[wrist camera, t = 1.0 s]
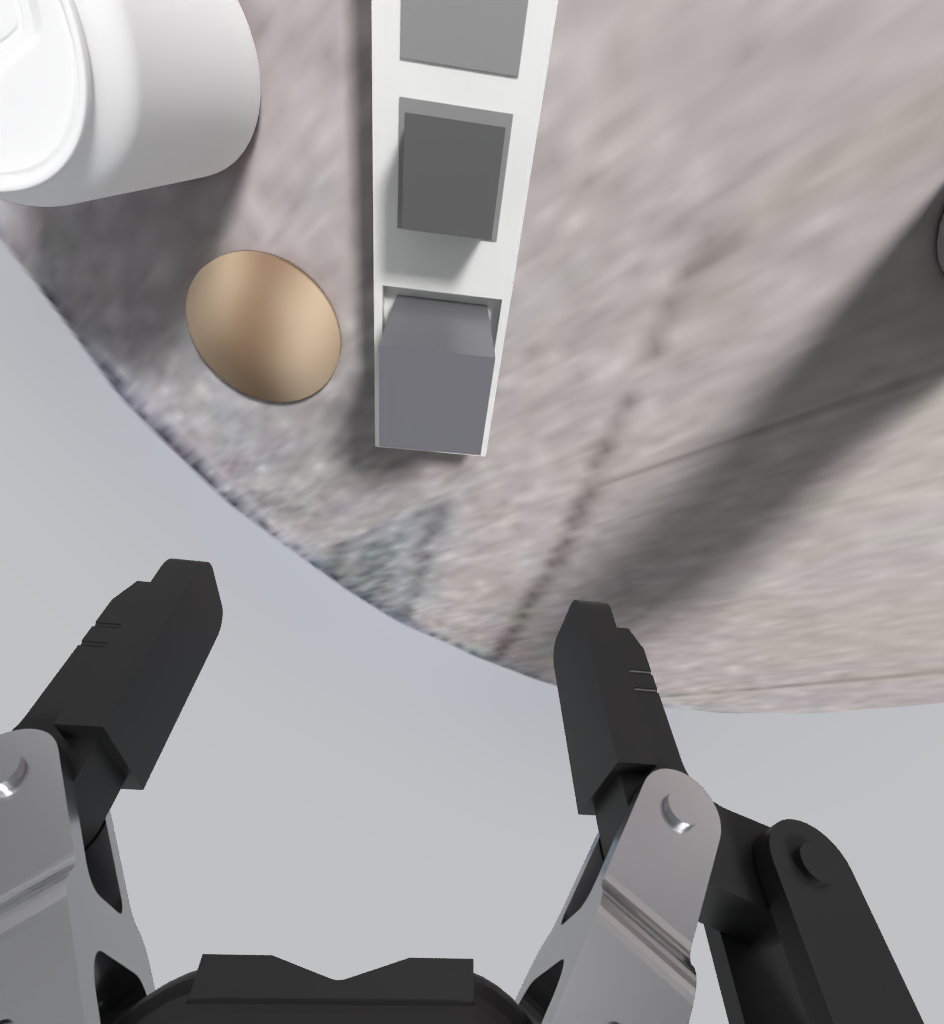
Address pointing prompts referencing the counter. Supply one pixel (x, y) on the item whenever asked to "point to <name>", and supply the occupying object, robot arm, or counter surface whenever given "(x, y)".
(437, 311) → the block
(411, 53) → the power strip
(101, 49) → the beverage can
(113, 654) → the robot arm
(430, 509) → the counter surface
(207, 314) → the coaster
